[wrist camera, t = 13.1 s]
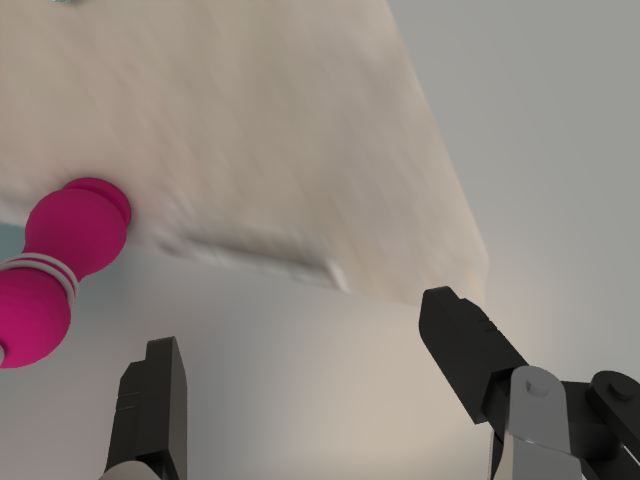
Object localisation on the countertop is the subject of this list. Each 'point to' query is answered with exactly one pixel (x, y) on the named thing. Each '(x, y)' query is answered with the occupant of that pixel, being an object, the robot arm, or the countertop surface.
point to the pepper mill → (57, 265)
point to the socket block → (61, 0)
